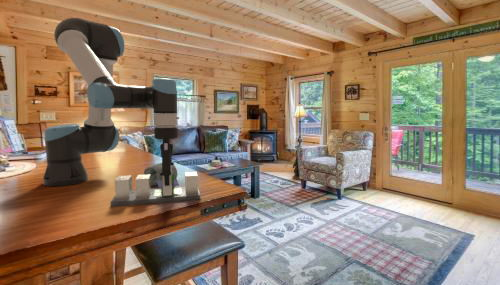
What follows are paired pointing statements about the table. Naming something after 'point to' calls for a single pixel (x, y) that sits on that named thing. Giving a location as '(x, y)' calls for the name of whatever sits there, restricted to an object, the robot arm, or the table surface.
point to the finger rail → (152, 191)
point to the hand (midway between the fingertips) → (168, 189)
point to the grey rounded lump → (157, 172)
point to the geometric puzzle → (174, 183)
